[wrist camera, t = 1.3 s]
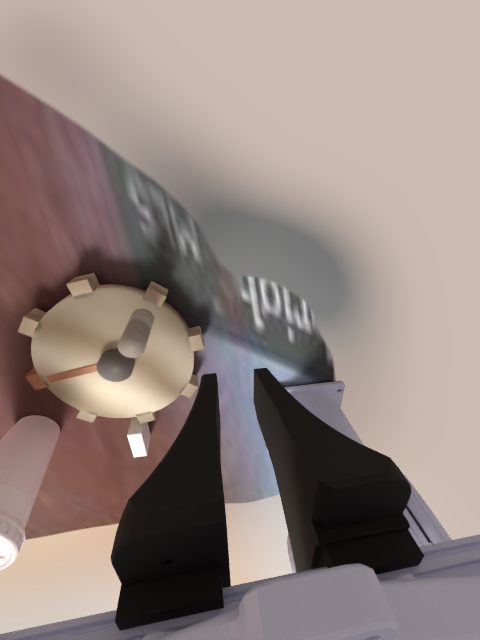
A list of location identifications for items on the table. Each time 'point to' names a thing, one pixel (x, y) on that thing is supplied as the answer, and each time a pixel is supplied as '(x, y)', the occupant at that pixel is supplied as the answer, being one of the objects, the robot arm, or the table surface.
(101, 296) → the sprocket
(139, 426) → the index pointer
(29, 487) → the smoothie
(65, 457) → the table surface
